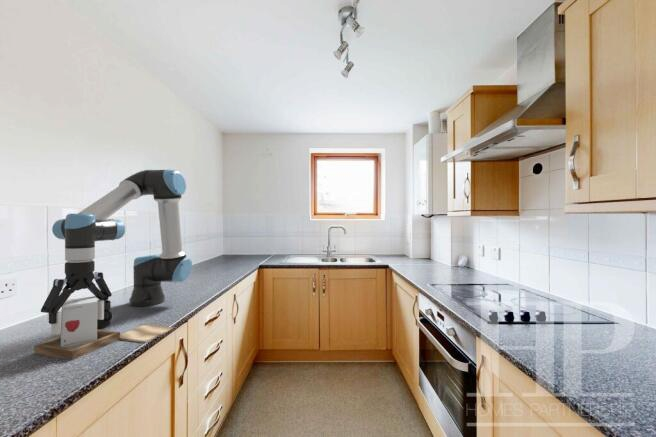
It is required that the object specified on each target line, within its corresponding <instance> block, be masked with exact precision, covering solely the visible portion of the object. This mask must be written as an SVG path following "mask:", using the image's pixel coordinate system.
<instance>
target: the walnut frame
mask: <svg viewBox="0 0 656 437" xmlns="http://www.w3.org/2000/svg"><path fill="white" fill-rule="evenodd" d="M120 335H121V332H120V331H113V330H105V329H97V340H95V341H93V342H90V343H88V344H85V345H83V346H80V347H78V348H75V349H69V348H62V347H61V335H60V336H57V337H55V338H51V339H50V340H46V341H44V342H41V343H40V342H39V343H38V344H34V345H33V354H35V355H39V356H46V357H53V358H59V359H64V360H72V361H73V360H75V359H78V358H80V357H82V356H85V355H87V354H89V353H91V352H94V351H96V350H99V349H101V348H103V347H106V346H107V345H110V344H113V343H115V342H118V341H120V340H119V339H120Z"/></svg>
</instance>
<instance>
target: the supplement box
mask: <svg viewBox="0 0 656 437" xmlns="http://www.w3.org/2000/svg"><path fill="white" fill-rule="evenodd" d="M97 300H98V298H97V296H95V295H94V296H87V297H85V296H84V297H79V298H71V299H70V298H68V299H67V300H66V302H65V303H64V304H63V305H62V307H61V311H60V312H61V334H60V336H61V345H60V347H62V348H69V349H75V348H78V347H80V346H83V345H85V344H88V343H90V342H93V341H95V340H98V338H97Z"/></svg>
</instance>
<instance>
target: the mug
mask: <svg viewBox="0 0 656 437" xmlns="http://www.w3.org/2000/svg"><path fill="white" fill-rule="evenodd" d="M111 308H112V306H111V300H109V299H108V300H106V307H105V309H104V319H103V320H98V319H97V329H99V330H103V329H104V328H107V327H109V326H110V325H111V320H112V318H113V313H112V311H111Z"/></svg>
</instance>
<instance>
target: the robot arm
mask: <svg viewBox="0 0 656 437" xmlns="http://www.w3.org/2000/svg"><path fill="white" fill-rule="evenodd" d="M186 188H187V183H186V179H185V177H184V175H183V174H182V172H180V171H179V170H175V169H145V170H140V171H139V172H138V171H137V172H135V173H134V174H131V175H130V176H127V177H126V178H124V179H123V180H121V181H120V182H119V185H118V186H117V187H115V188H114V189H112V190H111V191H109V192H108V193H106V194H104V195H103V196H102V197H100V198H99V199H97V200H96V201H94V202H93V203H92V204H90V205H88V206H87V207H86V208H84V209H83V210H81V211H80V212H77V213H68V214H66V216H65V218H62V219H58V220H55V222H54V223H53V225H52V234H53V236H54V237H55V238H57V239H59V240H64V260H65V263H64V274H65V278H63V279H61V278H55V279H54V280H53V282H52V283H53V284H52V288H51V290H50V291H49V293H48V295H47V296H46V299H45V301H44V303H43V305H42V307H41V309H40V312H41V313H44V314H45V313H46V314H48V323H49V325H50V326H51V327H50V328H51V329H50V331H51V332H50V334H52V335H61V311H60V309H62V305H63V304H64V303H65V302H66V300H68V299H70V297H71V295H72V294H73V293H75V292H76V291H81V290H89V292H90V293H91V294H93V295H94V296H97V319H98V320H103V319H104V309H105V307H106V300H109V297H112V295H113V294H112V292H111V290H110V288H109V286H108V285H107V282H106V281H105V279H104V273H103V272H101V271H100V272H99V271H95V263H96V262H95V261H94V259H95V257H96V256H95V253H96V250H95V249H96V248H95V247H96V245H95V244H96V242H103V241H114V240H115V241H116V240H119V239H121V238H122V237H124V235H125V233H126V226H125V224H124V222H122V221H121V220H119V219H113V218H112V219H111V218H110V217H111V216H112V215H113V214H115V213H117V212H118V211H119V210H120V209H122V208H124V206H126V205H127V204H129V203H130V202H131V201H133V200H137V199H140V198H141V197H143V196H148V195H151V196H153V200H154V201H155V202H156V203H157V208H158V220H159V228H160V241H161V242H160V243H161V253H160V254H159V253H158V254H151V255H150V254H149V255H144V256H143V255H142V256H138V257H135V258H134V260H133V288H132V292H131V295H130V298H129V301H128V302H129V303H128V304H129V306H131V307H149V306H155V305H159V304H161V303H163V302H165V300H166V295H165V294H164V291H163V287H162V283H163V282H165V283H183V282H184V281H186V280H187V279H188V278H189V277H190V275H191V272H192V269H193V263H192V262H193V261H192V260H191V259H190V258H189V257H187V253H186V252H185V251H184V250H183V246H182V245H183V244H182V231H181V218H180V208H179V207H180V206H179V205H180V204H179V201H181V199H182V195H184V194H185V193H186ZM108 218H110V219H108ZM94 271H95V272H94ZM93 281H95V283H96V284H95V283H94V282H93ZM96 285H97V286H96Z"/></svg>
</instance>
